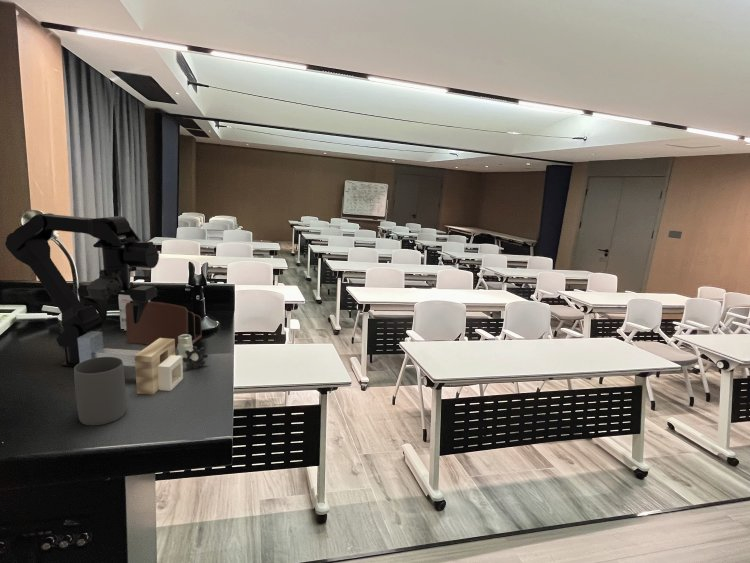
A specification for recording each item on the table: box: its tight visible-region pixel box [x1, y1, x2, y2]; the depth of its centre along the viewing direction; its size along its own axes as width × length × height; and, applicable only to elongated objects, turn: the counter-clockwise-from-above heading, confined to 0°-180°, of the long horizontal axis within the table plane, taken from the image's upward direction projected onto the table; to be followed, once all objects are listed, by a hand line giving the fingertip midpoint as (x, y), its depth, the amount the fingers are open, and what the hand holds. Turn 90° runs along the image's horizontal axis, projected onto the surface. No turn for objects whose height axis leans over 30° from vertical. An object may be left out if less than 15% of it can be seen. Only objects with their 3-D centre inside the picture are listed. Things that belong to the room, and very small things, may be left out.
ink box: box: [118, 294, 151, 331], centre depth 146 cm, size 9×5×15 cm, turn 81°
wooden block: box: [134, 338, 176, 396], centre depth 110 cm, size 4×12×10 cm, turn 179°
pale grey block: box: [78, 331, 141, 367], centre depth 110 cm, size 17×5×9 cm, turn 89°
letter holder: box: [125, 301, 202, 348], centre depth 138 cm, size 10×20×14 cm, turn 87°
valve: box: [176, 334, 209, 370], centre depth 124 cm, size 7×7×12 cm
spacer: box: [157, 354, 184, 392], centre depth 111 cm, size 3×7×6 cm, turn 179°
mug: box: [73, 357, 127, 426], centre depth 96 cm, size 14×9×12 cm
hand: (120, 321), depth 116 cm, fingers open, 9 cm apart
